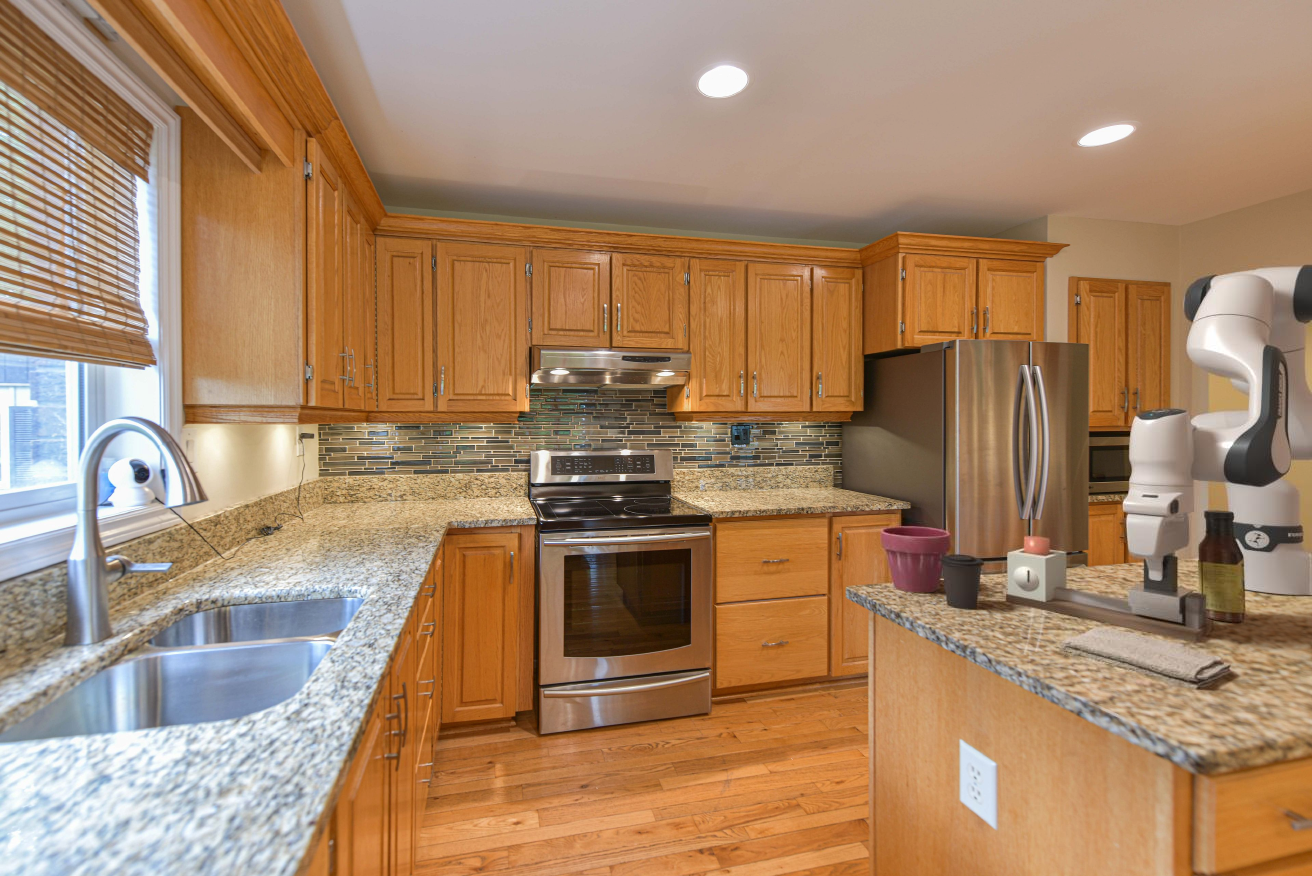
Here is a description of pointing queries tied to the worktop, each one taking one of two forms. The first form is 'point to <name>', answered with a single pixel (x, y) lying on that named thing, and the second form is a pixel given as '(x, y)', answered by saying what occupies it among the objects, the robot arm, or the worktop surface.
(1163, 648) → the washcloth
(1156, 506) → the robot arm
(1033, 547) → the plunger
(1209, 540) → the sauce bottle
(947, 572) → the coffee cup
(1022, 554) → the gauge cabinet
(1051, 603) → the rail board
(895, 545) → the plant pot
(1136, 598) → the carriage
